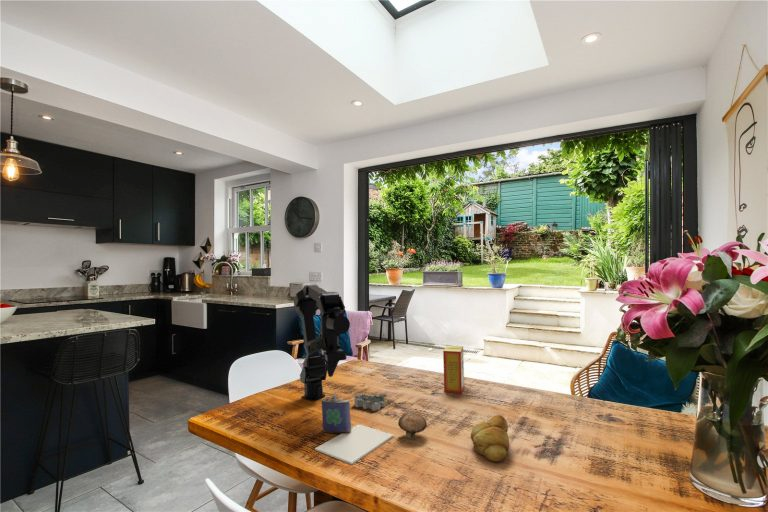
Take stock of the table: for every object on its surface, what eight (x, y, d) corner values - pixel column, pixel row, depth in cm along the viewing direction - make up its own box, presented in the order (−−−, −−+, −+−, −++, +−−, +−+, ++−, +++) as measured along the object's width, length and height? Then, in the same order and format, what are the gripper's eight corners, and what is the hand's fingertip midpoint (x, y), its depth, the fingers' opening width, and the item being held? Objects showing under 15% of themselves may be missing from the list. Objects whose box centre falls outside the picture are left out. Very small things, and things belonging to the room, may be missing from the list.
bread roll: (512, 467, 90) (511, 433, 90) (471, 463, 92) (470, 430, 92) (507, 442, 102) (506, 412, 103) (470, 439, 104) (470, 410, 105)
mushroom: (407, 445, 101) (407, 422, 101) (393, 434, 108) (393, 412, 108) (432, 439, 105) (431, 416, 105) (416, 428, 112) (416, 407, 112)
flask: (353, 430, 110) (350, 393, 111) (348, 434, 107) (345, 396, 108) (325, 428, 113) (323, 392, 114) (320, 432, 111) (318, 395, 111)
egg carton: (388, 405, 131) (388, 394, 131) (375, 413, 125) (375, 400, 125) (364, 400, 137) (363, 388, 137) (351, 406, 131) (350, 394, 131)
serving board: (315, 450, 100) (315, 448, 100) (358, 425, 115) (358, 424, 115) (351, 464, 92) (351, 462, 92) (393, 436, 107) (393, 434, 107)
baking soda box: (461, 393, 141) (460, 350, 142) (444, 392, 143) (443, 349, 144) (464, 385, 150) (463, 345, 151) (447, 384, 152) (446, 344, 153)
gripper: (300, 327, 132) (301, 372, 131) (311, 336, 115) (312, 388, 114) (331, 325, 136) (332, 368, 136) (346, 333, 119) (347, 383, 118)
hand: (330, 376), depth 126 cm, fingers closed
